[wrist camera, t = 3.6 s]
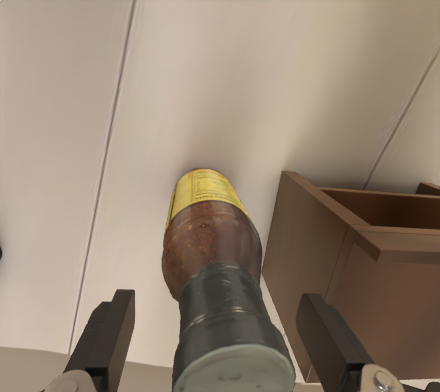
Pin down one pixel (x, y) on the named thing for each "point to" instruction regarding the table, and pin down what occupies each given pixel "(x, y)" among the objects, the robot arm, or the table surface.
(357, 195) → the shelf
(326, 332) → the robot arm
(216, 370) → the sauce bottle
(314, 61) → the table surface
